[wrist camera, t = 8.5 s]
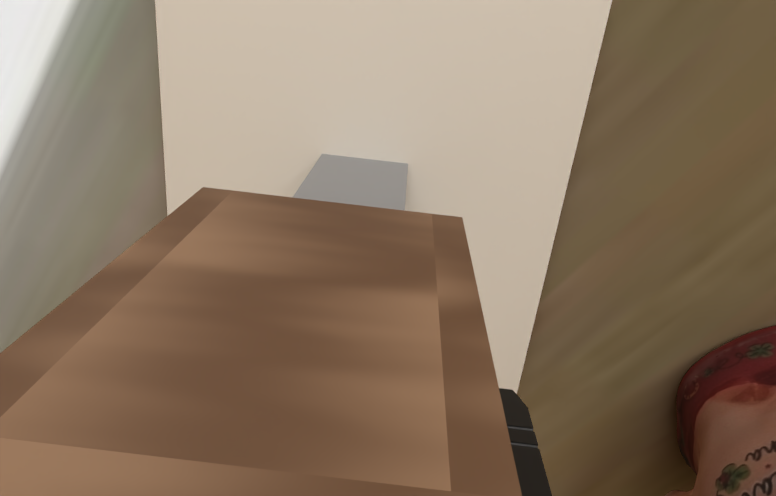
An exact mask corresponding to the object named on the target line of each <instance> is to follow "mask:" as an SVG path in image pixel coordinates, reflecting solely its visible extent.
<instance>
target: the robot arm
mask: <svg viewBox="0 0 776 496" xmlns="http://www.w3.org/2000/svg"><path fill="white" fill-rule="evenodd" d="M499 391H500V396H501V400H502V405H503V410H504V414H505V419H506V424H507V428H508V433H509V438H510V442H511V447H512V451H513V456H514V461H515V465H516V470H517V475H518V479H519V484H520V489H521V493H522V496H552V494H551V491H550V487H549V483H548V480H547V476H546V472H545V469H544V465H543V462H542V458H541V454H540V451H539V449H538V443H537V440H536V436H535V433H534V432H533V425H532V422H531V418H530V414H529V411H528V408H527V406H526V405H525V404H524V403H523V402H522V400H521V399H520V398H519V397H518V395H517V394H516V393H515V392H514V391H513V390H511V389H503V388H499Z"/></svg>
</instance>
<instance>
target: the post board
mask: <svg viewBox="0 0 776 496" xmlns="http://www.w3.org/2000/svg"><path fill="white" fill-rule="evenodd" d="M611 3H612V0H155V7H156V25H157V42H158V59H159V76H160V94H161V111H162V128H163V145H164V163H165V180H166V197H167V214H168V215H169V214H171V213H172V212H173V211H174V210H176V209H177V208H178V207H179V206H180V205H182V204H183V203H184V202H185V201H187V200H188V199H189V198H190V197H191V196H193V195H194V194H195V193H196V192H198V191H199V190H200V189H201V188H202V187H207V188H216V189H224V190H233V191H241V192H250V193H259V194H267V195H276V196H284V197H293V198H302V199H310V200H319V201H327V202H336V203H344V204H353V205H362V206H370V207H379V208H387V209H396V210H405V211H413V212H422V213H430V214H439V215H447V216H456V217H462V218H463V223H464V228H465V232H466V237H467V242H468V246H469V251H470V256H471V260H472V265H473V270H474V274H475V279H476V284H477V288H478V293H479V298H480V302H481V307H482V312H483V316H484V321H485V326H486V330H487V335H488V340H489V344H490V349H491V354H492V358H493V363H494V368H495V372H496V377H497V382H498V386H499V388H503V389H511V390H513V391H514V392H515V393H516V394H517V391H518V387H519V382H520V378H521V374H522V370H523V366H524V362H525V358H526V354H527V349H528V345H529V341H530V337H531V333H532V329H533V325H534V321H535V316H536V312H537V308H538V304H539V300H540V296H541V292H542V288H543V283H544V279H545V275H546V271H547V267H548V263H549V259H550V255H551V250H552V246H553V242H554V238H555V234H556V230H557V226H558V222H559V217H560V213H561V209H562V205H563V201H564V197H565V193H566V189H567V184H568V180H569V176H570V172H571V168H572V164H573V160H574V156H575V151H576V147H577V143H578V139H579V135H580V131H581V127H582V123H583V118H584V114H585V110H586V106H587V102H588V98H589V94H590V90H591V85H592V81H593V77H594V73H595V69H596V65H597V61H598V57H599V52H600V48H601V44H602V40H603V36H604V32H605V28H606V24H607V19H608V15H609V11H610V7H611Z"/></svg>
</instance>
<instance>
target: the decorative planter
mask: <svg viewBox="0 0 776 496" xmlns="http://www.w3.org/2000/svg"><path fill="white" fill-rule="evenodd" d="M677 438H678V444H679V447H680V451H681V454H682V456H683V457H684V459H685V461H686V463H687V464H688V465H689V466H690V467H691V468H692V469H693V471H694V472H695V473H696V475H697V478H696V482H695V485H694V488H693V489H692V490H690V491H688V492H684V491H679V490H673V491H670V492H669V493H667V494H666V495H665V496H776V325H775V326H771V327H768V328H764V329H760V330H757V331H754V332H751V333H748V334H745V335H742V336H740V337H738V338H736V339H734V340H732V341H730V342H728V343H726V344H724V345H722V346H720V347H719V348H717V349H715V350H713V351H711V352H710V353H709V354H707V355H706V356H704V357H703V358H701V359H700V360H699V361H698V362H696V363H695V364H694V365H693V366H692V367H691V368H690V369H689V370H688V372H687V373H686V374H685V376H684V377H683V379H682V381H681V383H680V386H679V389H678V393H677Z"/></svg>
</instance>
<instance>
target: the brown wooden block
mask: <svg viewBox="0 0 776 496" xmlns="http://www.w3.org/2000/svg"><path fill="white" fill-rule="evenodd" d="M0 496H522V493H521V489H520V484H519V479H518V475H517V470H516V465H515V461H514V456H513V451H512V447H511V442H510V438H509V433H508V428H507V424H506V419H505V414H504V410H503V405H502V400H501V396H500V391H499V386H498V382H497V377H496V372H495V368H494V363H493V358H492V354H491V349H490V344H489V340H488V335H487V330H486V326H485V321H484V316H483V312H482V307H481V302H480V298H479V293H478V288H477V284H476V279H475V274H474V270H473V265H472V260H471V256H470V251H469V246H468V242H467V237H466V232H465V228H464V223H463V218H462V217H456V216H447V215H439V214H430V213H422V212H413V211H405V210H396V209H387V208H379V207H370V206H362V205H353V204H344V203H336V202H327V201H319V200H310V199H302V198H293V197H284V196H276V195H267V194H259V193H250V192H241V191H233V190H224V189H216V188H207V187H202V188H201V189H200V190H199V191H198V192H196V193H195V194H194V195H193V196H191V197H190V198H189V199H188V200H187V201H185V202H184V203H183V204H182V205H180V206H179V207H178V208H177V209H176V210H174V211H173V212H172V213H171V214H169V215H168V216H167V217H166V218H165V219H163V220H162V221H161V222H160V223H159V224H157V225H156V226H155V227H154V228H152V229H151V230H150V231H149V232H148V233H146V234H145V235H144V236H143V237H141V238H140V239H139V240H138V241H137V242H135V243H134V244H133V245H132V246H130V247H129V248H128V249H127V250H126V251H124V252H123V253H122V254H121V255H120V256H118V257H117V258H116V259H115V260H113V261H112V262H111V263H110V264H109V265H107V266H106V267H105V268H104V269H102V270H101V271H100V272H99V273H98V274H96V275H95V276H94V277H93V278H91V279H90V280H89V281H88V282H87V283H85V284H84V285H83V286H82V287H81V288H79V289H78V290H77V291H76V292H74V293H73V294H72V295H71V296H70V297H68V298H67V299H66V300H65V301H63V302H62V303H61V304H60V305H59V306H57V307H56V308H55V309H54V310H52V311H51V312H50V313H49V314H48V315H46V316H45V317H44V318H43V319H41V320H40V321H39V322H38V323H37V324H35V325H34V326H33V327H32V328H31V329H29V330H28V331H27V332H26V333H24V334H23V335H22V336H21V337H20V338H18V339H17V340H16V341H15V342H13V343H12V344H11V345H10V346H9V347H7V348H6V349H5V350H4V351H2V352H1V353H0Z"/></svg>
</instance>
